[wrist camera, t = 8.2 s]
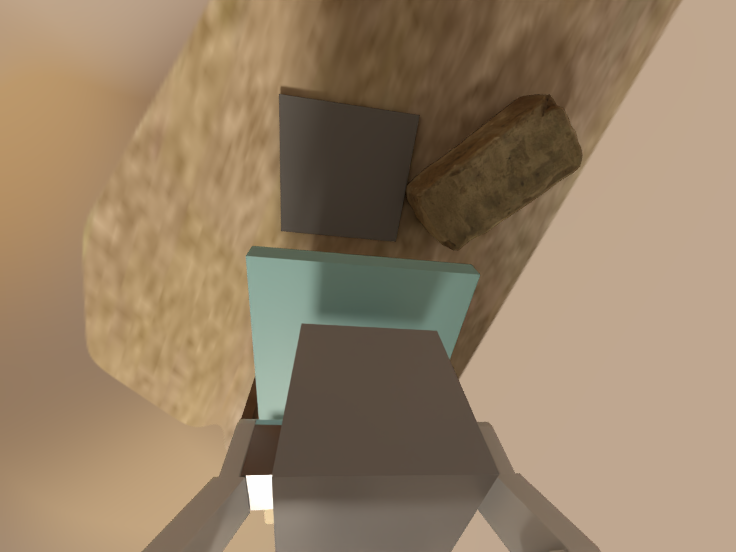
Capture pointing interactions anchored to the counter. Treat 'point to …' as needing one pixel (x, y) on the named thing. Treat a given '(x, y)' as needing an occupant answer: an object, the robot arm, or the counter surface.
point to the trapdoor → (343, 306)
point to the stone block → (495, 171)
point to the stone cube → (376, 445)
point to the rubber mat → (343, 168)
